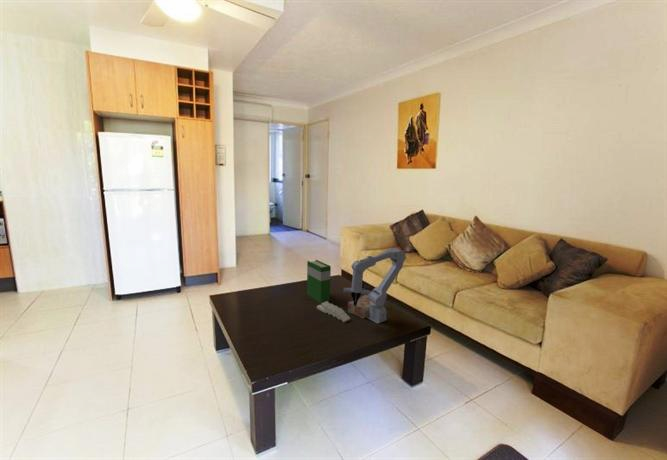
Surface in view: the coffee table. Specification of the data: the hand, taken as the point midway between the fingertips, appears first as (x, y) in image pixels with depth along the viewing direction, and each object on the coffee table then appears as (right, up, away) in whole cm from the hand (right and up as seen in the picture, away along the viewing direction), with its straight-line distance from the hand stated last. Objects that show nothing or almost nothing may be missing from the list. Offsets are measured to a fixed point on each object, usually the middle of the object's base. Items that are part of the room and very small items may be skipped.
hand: (355, 305), depth 180 cm
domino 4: (-7, -9, +5) cm, 13 cm away
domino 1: (-15, -7, +14) cm, 22 cm away
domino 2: (-13, -7, +11) cm, 19 cm away
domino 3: (-10, -8, +8) cm, 15 cm away
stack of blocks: (+3, -4, +22) cm, 23 cm away
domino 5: (-5, -9, +2) cm, 11 cm away
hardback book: (-23, -4, +37) cm, 43 cm away
